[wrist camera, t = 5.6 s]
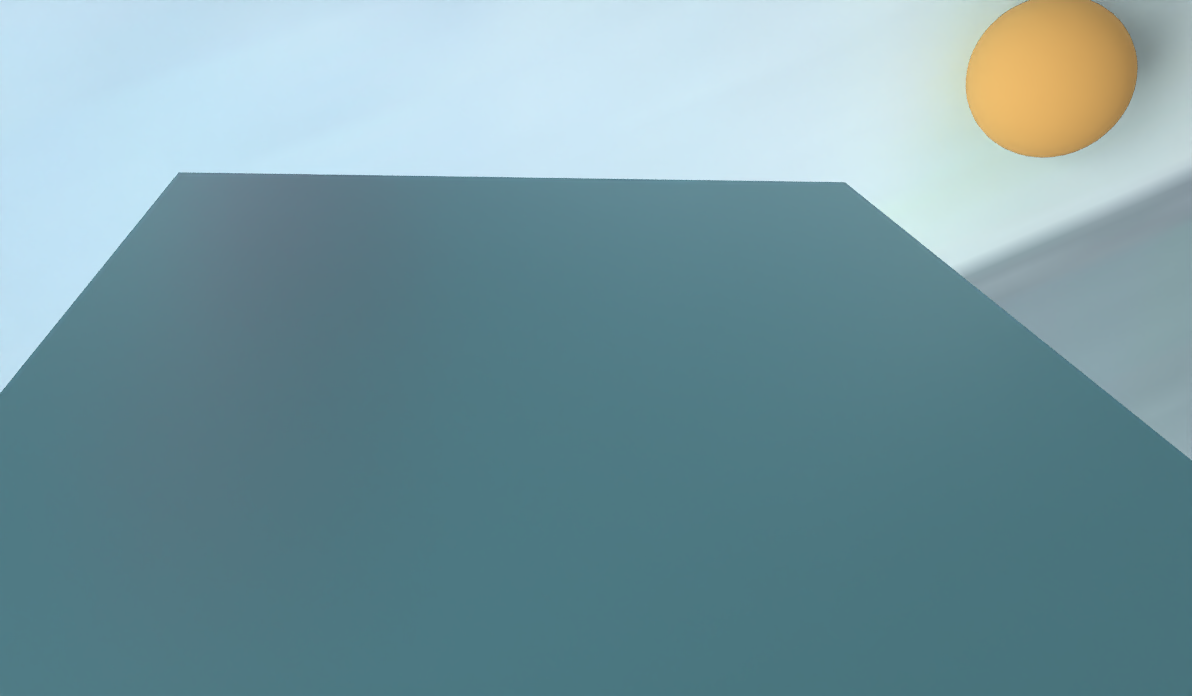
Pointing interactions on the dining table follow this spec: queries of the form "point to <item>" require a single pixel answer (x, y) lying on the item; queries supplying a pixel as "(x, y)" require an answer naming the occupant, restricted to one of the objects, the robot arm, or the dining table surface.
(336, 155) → the dining table surface
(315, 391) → the teal square block
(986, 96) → the ball
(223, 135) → the dining table surface
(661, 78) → the dining table surface
